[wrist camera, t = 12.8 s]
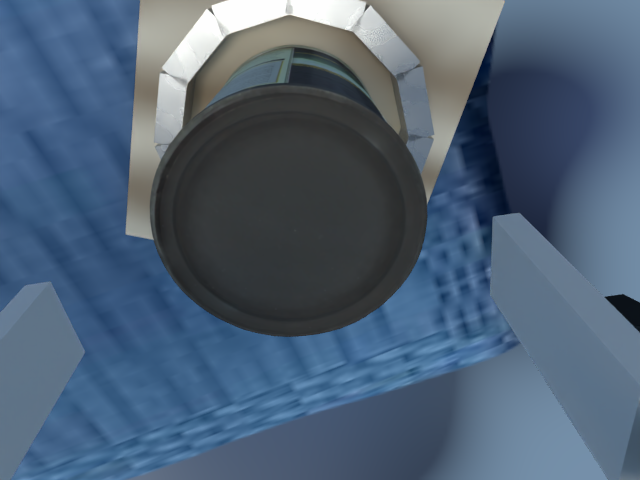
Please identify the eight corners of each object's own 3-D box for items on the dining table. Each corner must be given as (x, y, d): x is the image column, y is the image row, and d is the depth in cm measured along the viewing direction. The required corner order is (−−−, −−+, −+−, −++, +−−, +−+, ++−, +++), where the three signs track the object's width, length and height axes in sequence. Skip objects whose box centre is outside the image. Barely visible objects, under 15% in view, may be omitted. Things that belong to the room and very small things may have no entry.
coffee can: (381, 42, 28) (446, 86, 15) (370, 203, 33) (413, 337, 20) (204, 41, 27) (123, 85, 15) (220, 204, 32) (169, 340, 20)
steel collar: (378, 259, 35) (383, 278, 32) (157, 215, 32) (146, 231, 30) (459, 28, 27) (473, 32, 25) (182, -49, 25) (170, -53, 23)
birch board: (393, 279, 37) (395, 287, 36) (130, 227, 34) (125, 234, 33) (498, 0, 28) (504, 1, 27) (152, -102, 25) (146, -105, 24)
